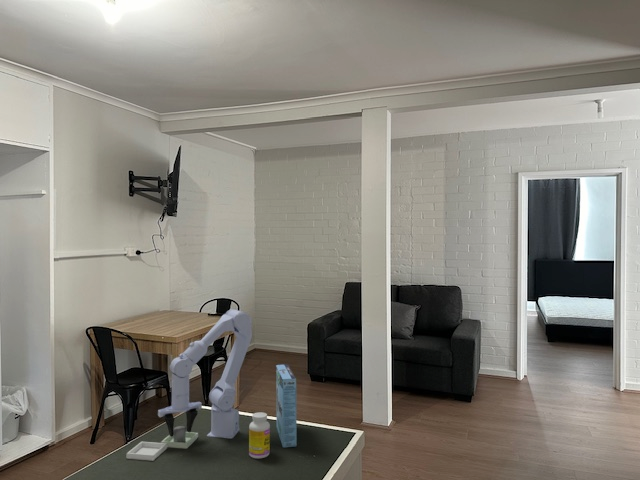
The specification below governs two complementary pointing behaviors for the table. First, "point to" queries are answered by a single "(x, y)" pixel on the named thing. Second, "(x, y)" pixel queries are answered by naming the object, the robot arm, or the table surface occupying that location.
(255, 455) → the supplement bottle
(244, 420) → the table surface
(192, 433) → the sage tray
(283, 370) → the light blue carton
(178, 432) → the grey cylinder
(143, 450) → the grey tray
